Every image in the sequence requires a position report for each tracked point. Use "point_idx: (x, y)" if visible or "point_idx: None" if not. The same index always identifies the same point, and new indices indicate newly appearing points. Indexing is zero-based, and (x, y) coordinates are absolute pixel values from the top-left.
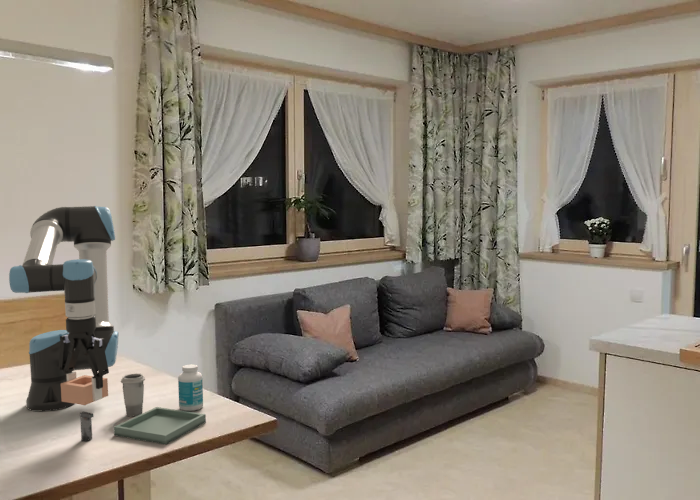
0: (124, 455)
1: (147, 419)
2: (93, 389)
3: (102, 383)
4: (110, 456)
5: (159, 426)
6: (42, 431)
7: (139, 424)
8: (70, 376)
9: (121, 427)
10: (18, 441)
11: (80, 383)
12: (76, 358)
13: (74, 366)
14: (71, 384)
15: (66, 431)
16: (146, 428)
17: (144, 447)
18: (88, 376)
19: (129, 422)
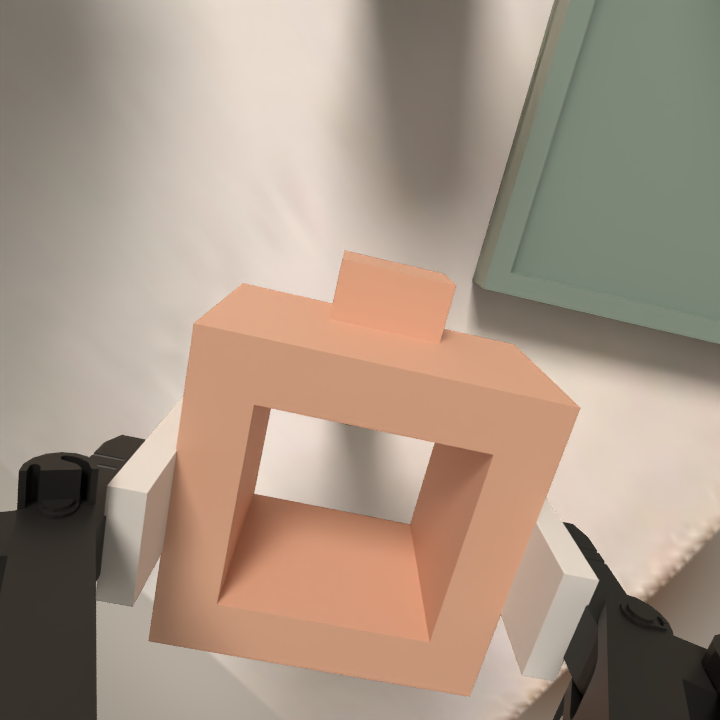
0: (632, 491)
1: (588, 25)
2: None
3: (596, 560)
4: (573, 508)
5: (710, 145)
6: (35, 281)
7: (570, 129)
8: (149, 553)
9: (534, 290)
10: (28, 420)
11: (254, 439)
12: (93, 715)
13: (93, 552)
14: (287, 651)
15: (169, 261)
16: (640, 191)
17: (695, 400)
18: (290, 374)
19: (536, 182)
